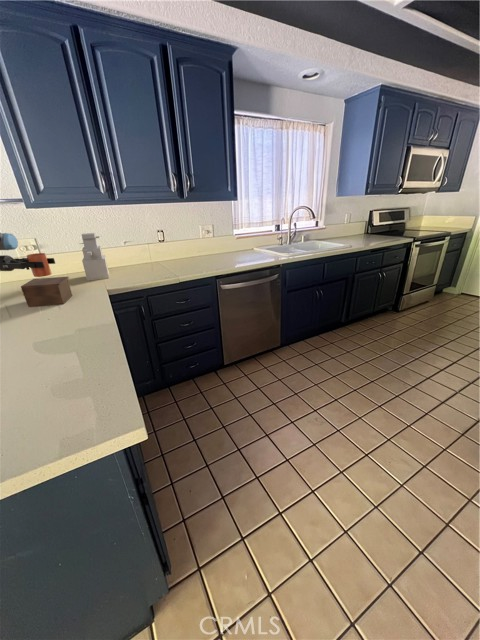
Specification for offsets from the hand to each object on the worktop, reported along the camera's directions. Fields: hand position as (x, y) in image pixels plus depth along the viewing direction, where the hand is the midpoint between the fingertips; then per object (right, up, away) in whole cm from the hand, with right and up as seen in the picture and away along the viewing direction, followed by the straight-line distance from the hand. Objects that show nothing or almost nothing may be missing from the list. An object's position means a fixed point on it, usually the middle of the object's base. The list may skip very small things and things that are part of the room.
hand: (48, 262), depth 128 cm
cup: (-5, -5, +2) cm, 8 cm away
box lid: (-4, -9, +4) cm, 11 cm away
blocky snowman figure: (-3, +1, +51) cm, 51 cm away
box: (-5, -18, +8) cm, 21 cm away
